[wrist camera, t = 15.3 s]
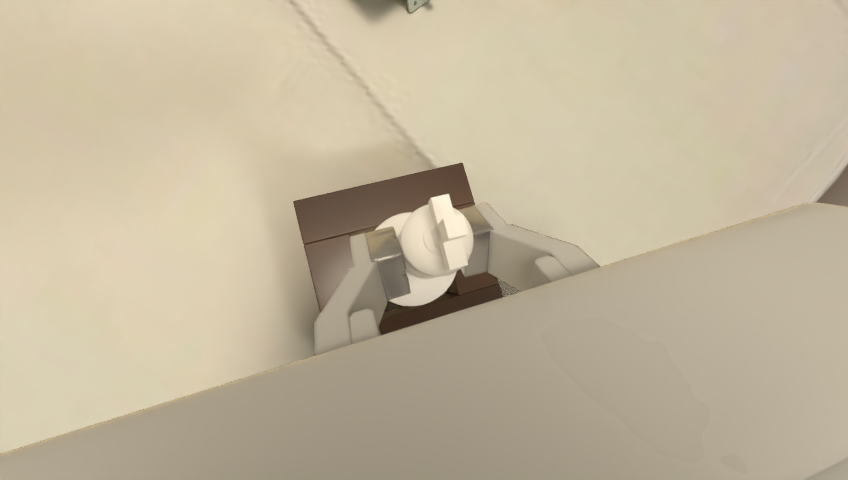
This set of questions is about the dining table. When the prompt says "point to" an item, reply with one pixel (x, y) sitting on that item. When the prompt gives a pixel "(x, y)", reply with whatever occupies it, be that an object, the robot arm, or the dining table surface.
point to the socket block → (363, 212)
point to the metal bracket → (411, 7)
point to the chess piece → (431, 248)
